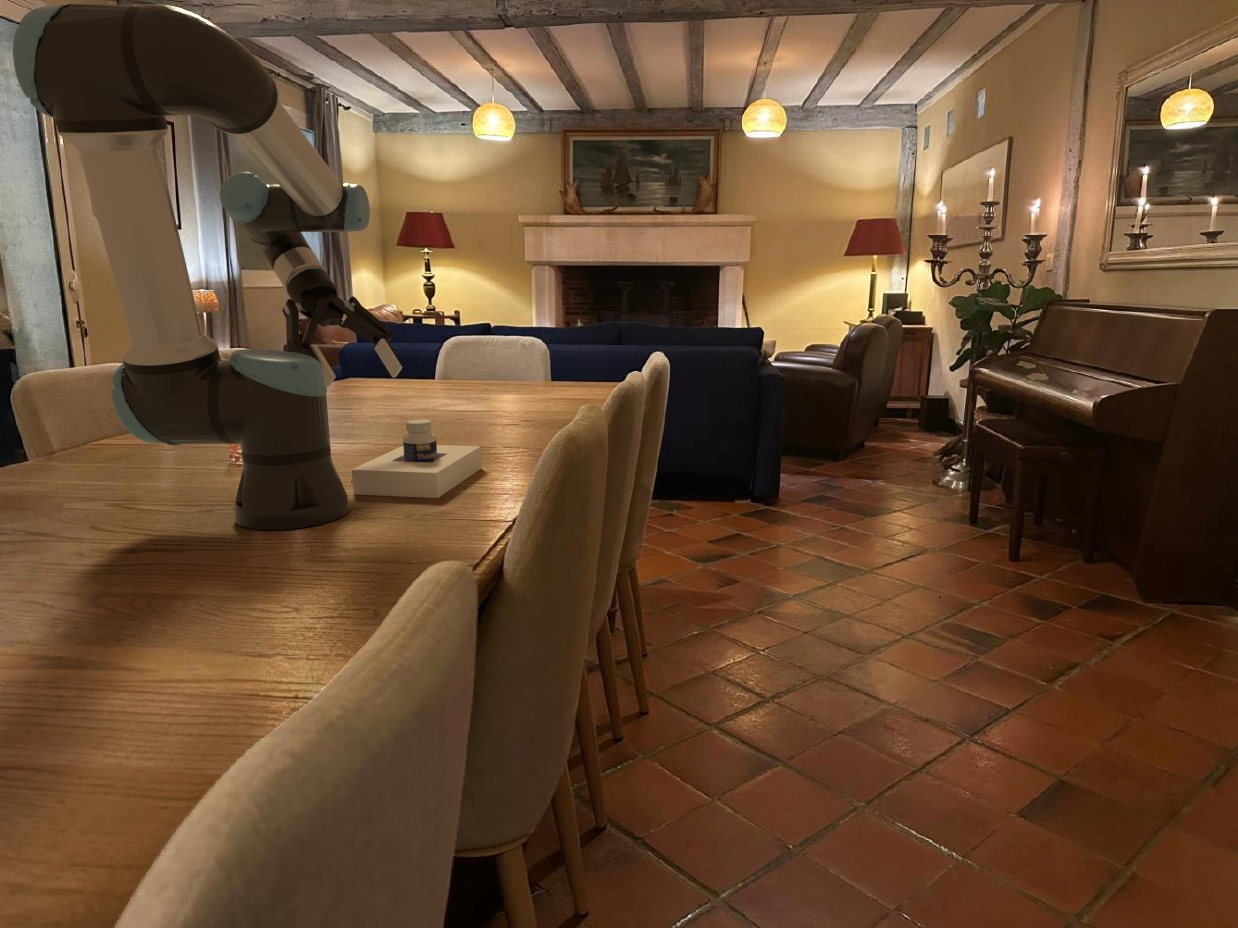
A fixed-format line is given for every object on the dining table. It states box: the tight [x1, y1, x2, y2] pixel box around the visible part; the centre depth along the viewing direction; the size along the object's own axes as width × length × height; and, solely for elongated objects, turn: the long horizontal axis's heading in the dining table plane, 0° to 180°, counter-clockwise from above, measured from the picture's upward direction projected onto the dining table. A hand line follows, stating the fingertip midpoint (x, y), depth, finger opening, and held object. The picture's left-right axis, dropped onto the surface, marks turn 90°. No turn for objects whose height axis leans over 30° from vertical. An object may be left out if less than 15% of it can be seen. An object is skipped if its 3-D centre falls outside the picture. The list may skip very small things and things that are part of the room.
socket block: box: [351, 444, 483, 499], centre depth 136 cm, size 14×20×4 cm
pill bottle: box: [402, 418, 438, 463], centre depth 135 cm, size 5×5×10 cm
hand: (365, 377), depth 137 cm, fingers open, 13 cm apart
